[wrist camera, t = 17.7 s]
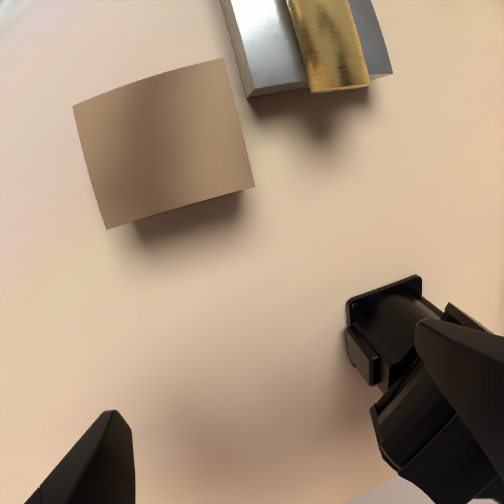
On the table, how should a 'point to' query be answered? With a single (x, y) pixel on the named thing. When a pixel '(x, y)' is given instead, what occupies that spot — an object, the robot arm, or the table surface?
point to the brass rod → (329, 45)
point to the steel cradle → (289, 44)
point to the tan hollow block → (163, 143)
